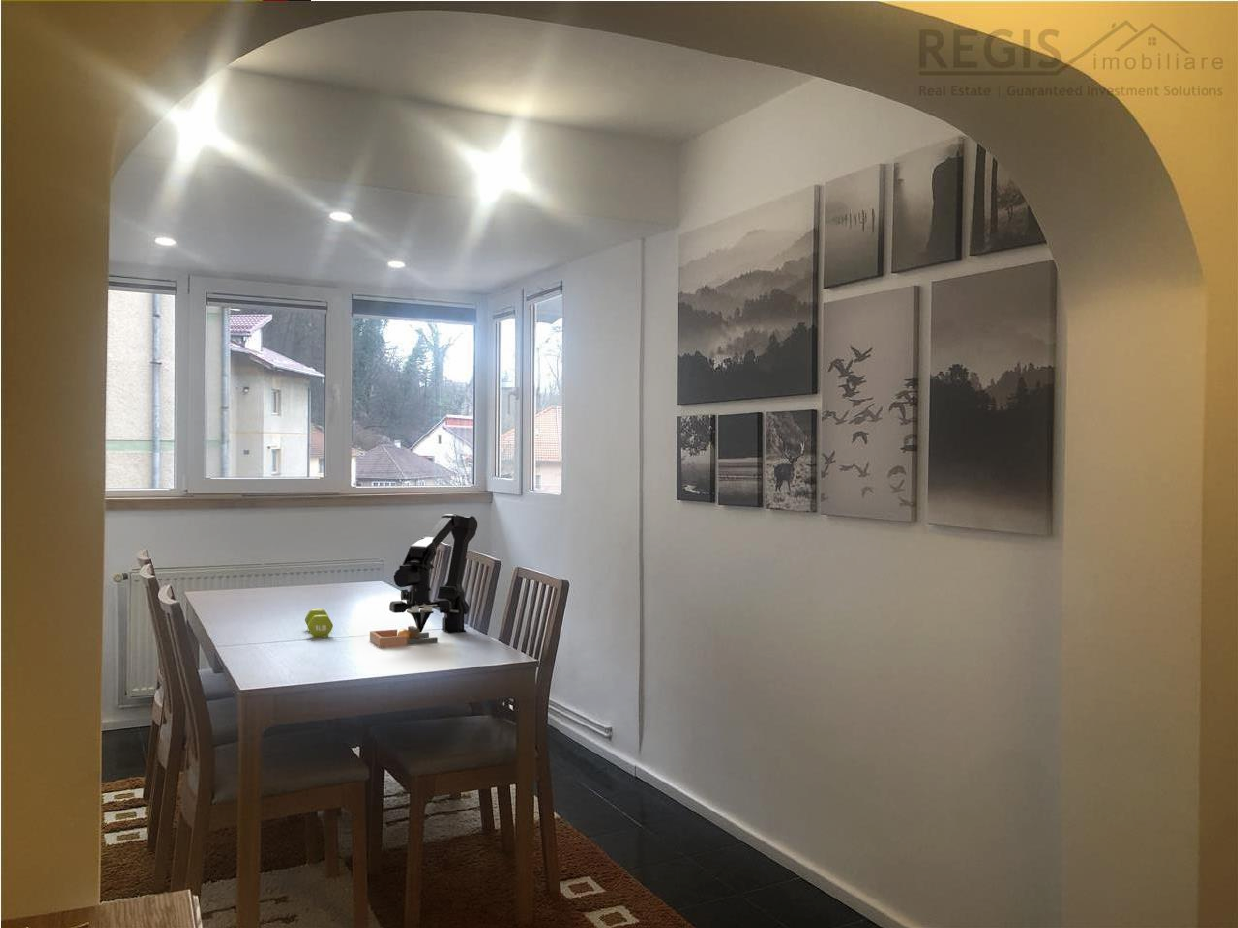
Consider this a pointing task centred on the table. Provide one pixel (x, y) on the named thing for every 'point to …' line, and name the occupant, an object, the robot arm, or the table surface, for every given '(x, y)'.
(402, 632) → the ball
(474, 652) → the table surface
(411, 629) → the brown wooden block
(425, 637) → the track
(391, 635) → the pocket
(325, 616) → the dumbbell
